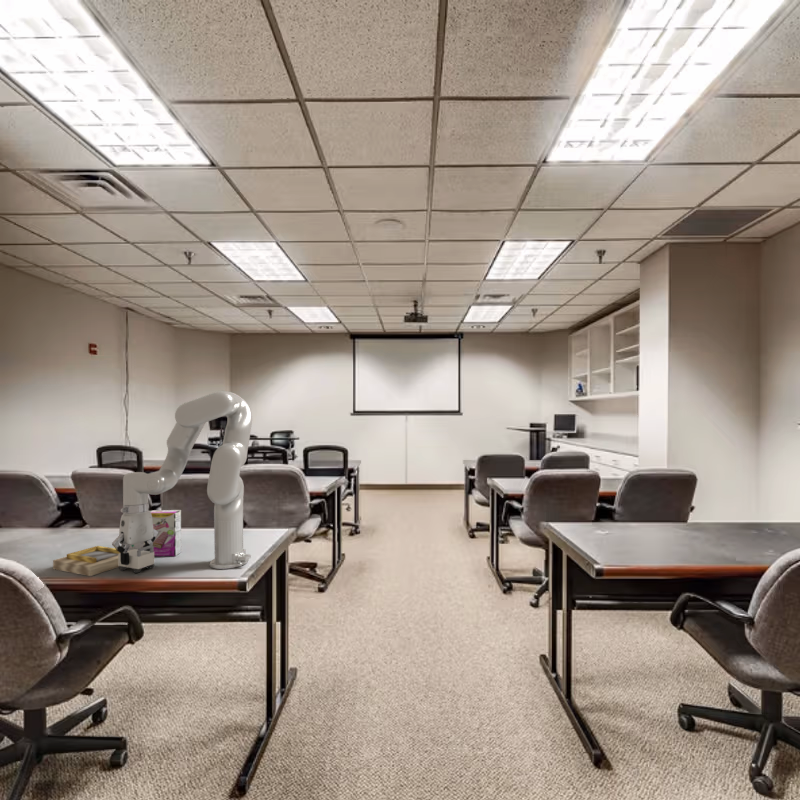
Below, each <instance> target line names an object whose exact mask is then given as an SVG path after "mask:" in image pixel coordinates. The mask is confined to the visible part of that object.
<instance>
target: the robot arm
mask: <svg viewBox="0 0 800 800" xmlns="http://www.w3.org/2000/svg"><path fill="white" fill-rule="evenodd" d="M249 405H250V404H248V402H247V401H246V400H245V399H244V398H242V397H241V396H240V395H238V394H237V393H234V392H231V391H225V390H218V391H215V392H212V393H209V394H207V395H204V396H201V397H198V398H195V399H192V400H189V401H187V402H184V403H182V404H180V405H179V406H178V407H177V408H176V410H175V413H174V419H175V424H174V426H173V428H172V430H171V432H170V433H169V436H168V437H167V440H166V447H167V453H166V457H165V459H164V461H163V462H162V465H161V466H160V468H159V470H157V471H154V472H150V473H146V472H143V471H142V472H141V471H136V472H135V471H134V472H128V473H125V474H124V476H123V477H122V497H123V498H122V501H123V505H122V508H120V512H121V513H122V514H121V517H120V522H119V523H120V524H119V531H118V532H119V533H118V536H117V537H116V538H115V539H114V540H113V542H111V545H112V547H113V548H115V549H116V550H117V551H119V553H120V559H121V564H123V565H128V564H129V553H127V551H128V549H129V547H130V545H134V544H138V543H141V542H144V544H145V545H143V547H146V546H150V545H153V542H154V540H155V537H156V536H157V534H158V531H157V530H155V529H153V520H152V515H151V511H152V510H149V495H152V496H153V495H155V496H156V495H160V494H163V493H165V492H167V491H169V490H171V489H173V488H174V487H175V486H176V485H177V484H178V481H179V479H180V478H181V475H183V472H184V470H185V468H186V465H187V464H188V460H189V458H190V456H191V452H192V449H193V447H194V445H195V444H196V441H197V439H198V438H199V436H200V434H201V433H202V431H203V428H204V427H205V425H206V423H207V422H210V421H214V420H216V419H218V418H221V417H226V418H227V421H226V425H225V429H224V437H223V441H222V444H221V445H220V446H219V447H217V448H216V450H215V451H214V452H213V455H212V458H211V462H210V463H211V465H210V469H209V470H210V471H209V475H208V480H207V487H206V493H207V497H208V499H209V501H211V502H212V504H213V503H214V509H213V513H214V514H213V520H214V521H213V525H214V526H213V527H214V528H213V529H214V530H213V532H214V533H213V534H214V542H213V543H214V544H213V545H214V558H213V559H211V560H210V562H209V566H210V568H212V569H216V570H225V569H227V570H228V569H234V568H238V567H242V566H243V565H246V564H247V563H248V562H249V560H250V559H251V558H252V555H251V554H249V553H246V550H247V549H244V497H245V496H244V494H245V486H244V480H243V479H242V477H241V476H240V473H241V468H242V467H243V466H244V465H245V463H246V462H247V458H248V450H249V443H250V438H251V430H252V424H253V423H252V422H253V416H252V409H251V408H250V406H249ZM120 544H121V545H120ZM144 551H150V549H147V550H144Z"/></svg>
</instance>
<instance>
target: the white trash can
mask: <svg viewBox="0 0 800 800" xmlns="http://www.w3.org/2000/svg"><path fill="white" fill-rule="evenodd" d="M147 549H150V551H144V550H147ZM127 553H129V564H128V565H123V564H121V559H120V553H119V554H118V566H119V567H118V569H119V570H120V571H125V570H127V568H130V569H132V571H133V573H134V574H138V573H140V572H141V571H142V569H143V568H146V569H153V568H154V566H155V557H154V546H153V545H150V546H146V547H143V548H140V549H138V550H137V549H133V550H129V551H127Z"/></svg>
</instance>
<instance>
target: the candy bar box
mask: <svg viewBox="0 0 800 800" xmlns="http://www.w3.org/2000/svg"><path fill="white" fill-rule="evenodd" d="M150 511H151V515H152V520H153V529H155V530H157V531H158V534H157V536H156V537H155V540H154V542H153V546H154V558H155V557H161V556H164V557H177V556H178V555H180V554H181V553H182V510H181V509H171V510H170V509H168V510H167V509H165V510H164V509H162V510H161V509H160V510H159V509H158V510H155V509H154V510H150ZM176 555H177V556H176Z"/></svg>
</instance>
